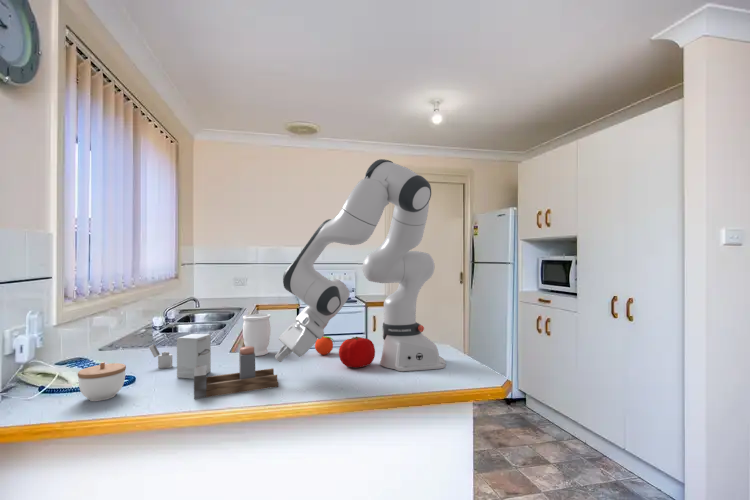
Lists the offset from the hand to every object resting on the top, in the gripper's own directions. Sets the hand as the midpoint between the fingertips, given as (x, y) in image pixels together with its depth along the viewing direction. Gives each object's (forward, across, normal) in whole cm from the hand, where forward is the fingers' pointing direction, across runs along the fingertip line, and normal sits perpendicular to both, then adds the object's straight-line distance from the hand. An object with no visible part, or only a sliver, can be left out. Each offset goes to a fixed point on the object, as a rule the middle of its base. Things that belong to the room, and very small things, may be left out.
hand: (277, 359), depth 115 cm
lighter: (+28, -36, -19) cm, 49 cm away
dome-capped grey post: (+10, -2, -2) cm, 10 cm away
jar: (+5, -39, +4) cm, 40 cm away
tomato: (-15, -6, +25) cm, 29 cm away
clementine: (-12, -26, +21) cm, 35 cm away
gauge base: (+13, -2, -3) cm, 13 cm away
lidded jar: (+37, -11, -27) cm, 47 cm away
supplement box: (+21, -21, -11) cm, 32 cm away
